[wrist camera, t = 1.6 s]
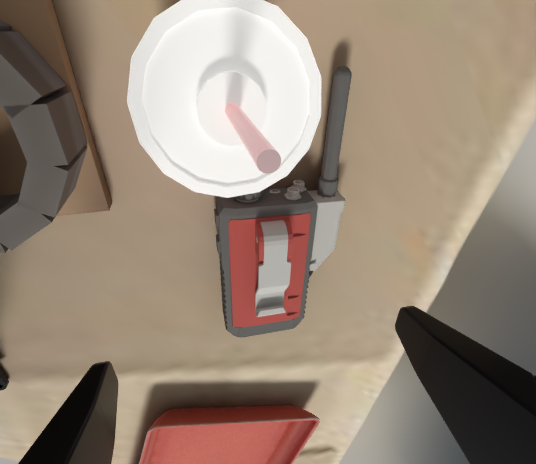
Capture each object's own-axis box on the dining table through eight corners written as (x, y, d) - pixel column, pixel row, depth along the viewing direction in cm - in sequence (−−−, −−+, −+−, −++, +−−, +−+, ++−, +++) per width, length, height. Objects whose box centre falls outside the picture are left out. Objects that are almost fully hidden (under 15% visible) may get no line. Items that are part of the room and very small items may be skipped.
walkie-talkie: (315, 306, 30) (350, 64, 19) (334, 344, 26) (390, 71, 16) (221, 321, 28) (203, 62, 17) (227, 364, 24) (209, 69, 14)
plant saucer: (150, 395, 31) (147, 430, 28) (313, 391, 37) (323, 420, 34) (127, 487, 38) (123, 522, 36) (264, 471, 45) (270, 500, 42)
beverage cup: (282, 52, 18) (480, 83, 6) (235, 151, 20) (313, 311, 8) (174, -19, 15) (161, -200, 3) (134, 104, 17) (43, 245, 6)
